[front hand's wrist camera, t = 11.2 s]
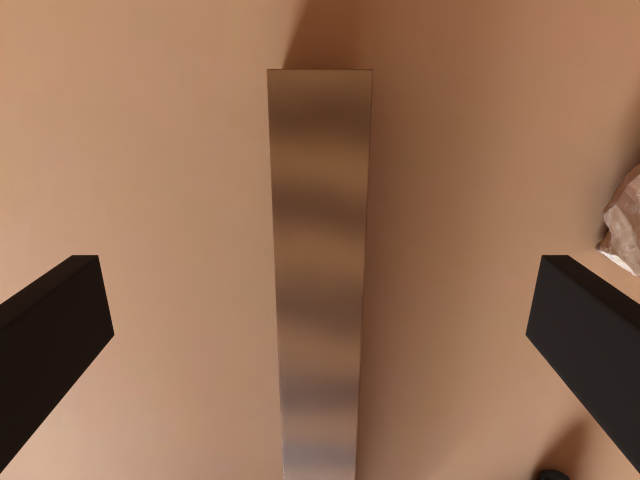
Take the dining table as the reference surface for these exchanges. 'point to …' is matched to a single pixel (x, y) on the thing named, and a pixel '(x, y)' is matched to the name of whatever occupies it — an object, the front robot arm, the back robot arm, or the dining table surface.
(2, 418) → the front robot arm
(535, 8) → the dining table surface
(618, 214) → the stone
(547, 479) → the handgun
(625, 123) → the dining table surface
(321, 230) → the beam
